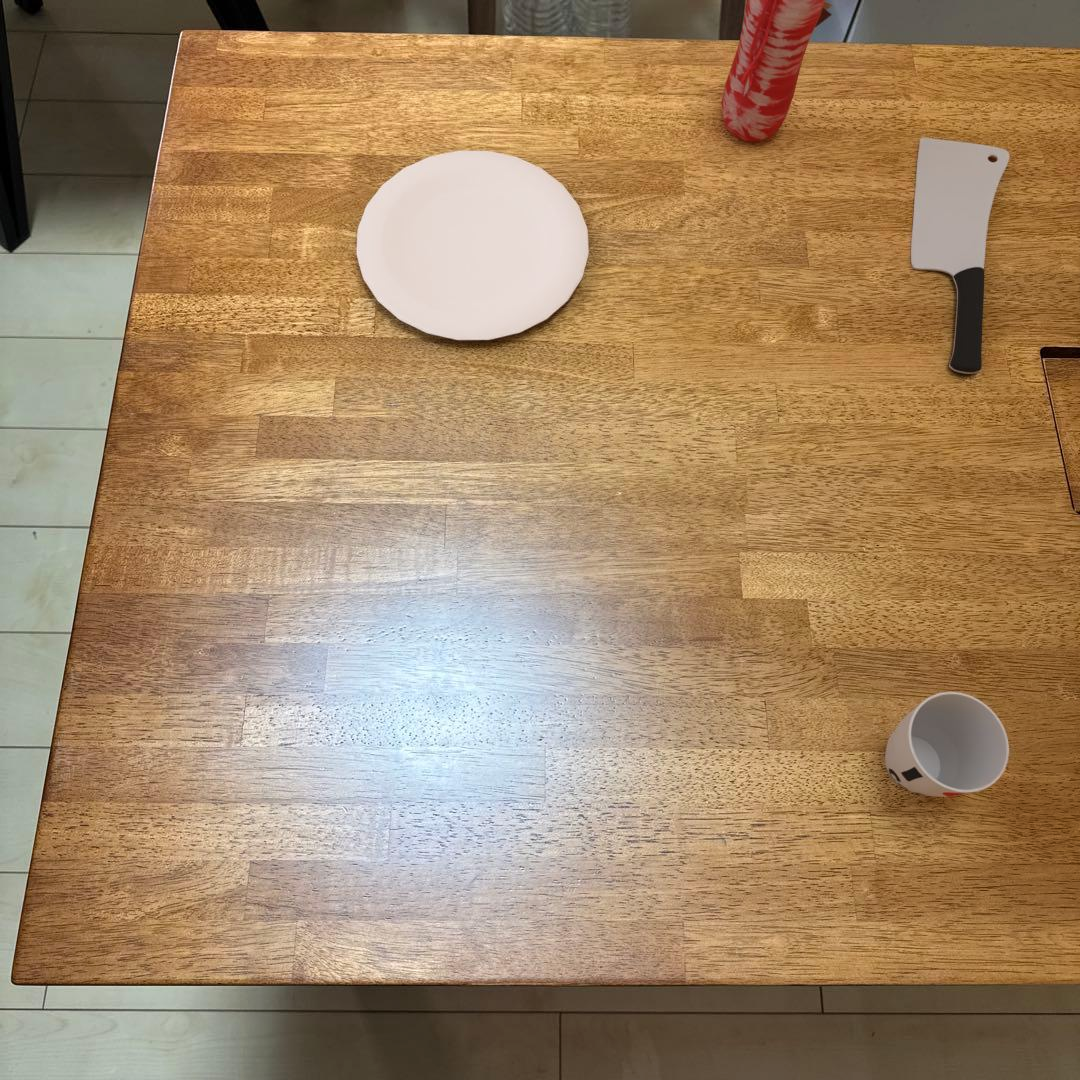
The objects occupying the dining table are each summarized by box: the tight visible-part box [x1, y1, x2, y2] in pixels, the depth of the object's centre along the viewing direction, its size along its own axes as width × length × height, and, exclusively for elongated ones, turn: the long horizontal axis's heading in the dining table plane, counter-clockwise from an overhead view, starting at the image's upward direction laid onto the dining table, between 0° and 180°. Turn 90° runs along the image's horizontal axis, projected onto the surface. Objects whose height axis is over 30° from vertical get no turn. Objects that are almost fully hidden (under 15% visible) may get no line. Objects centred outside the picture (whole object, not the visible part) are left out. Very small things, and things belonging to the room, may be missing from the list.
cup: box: [884, 691, 1010, 798], centre depth 87 cm, size 8×8×10 cm
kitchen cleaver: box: [910, 137, 1011, 377], centre depth 112 cm, size 31×2×10 cm
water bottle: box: [720, 0, 833, 143], centre depth 107 cm, size 12×8×25 cm, turn 140°
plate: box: [355, 150, 590, 342], centre depth 110 cm, size 25×25×2 cm
